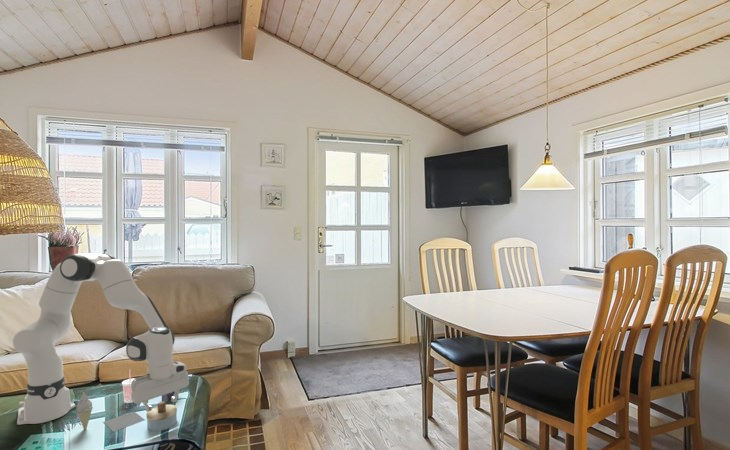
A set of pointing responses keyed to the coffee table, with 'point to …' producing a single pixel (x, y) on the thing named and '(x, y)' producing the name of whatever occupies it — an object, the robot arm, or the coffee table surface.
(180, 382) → the robot arm
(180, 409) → the coffee table surface
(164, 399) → the flask
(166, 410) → the lid
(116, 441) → the coffee table surface
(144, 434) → the coffee table surface
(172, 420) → the bowl
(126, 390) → the beverage cup
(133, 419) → the mat
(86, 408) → the ice cream cone
